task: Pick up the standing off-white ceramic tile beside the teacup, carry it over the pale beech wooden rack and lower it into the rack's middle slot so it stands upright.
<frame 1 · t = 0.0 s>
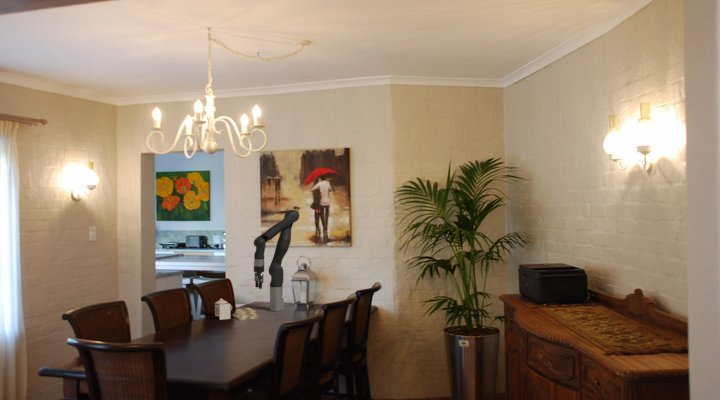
hand: (258, 288, 406), 17 cm above the table, tool pointing down, fingers open, 8 cm apart
tile: (224, 318, 381), on the table
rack: (246, 317, 385), on the table
teacup with lid: (223, 315, 394), on the table
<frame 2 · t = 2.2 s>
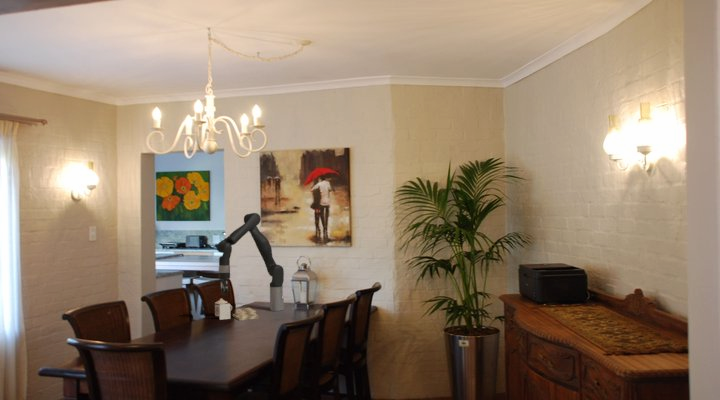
hand: (224, 295, 381), 16 cm above the table, tool pointing down, fingers open, 8 cm apart
nothing on the table moved.
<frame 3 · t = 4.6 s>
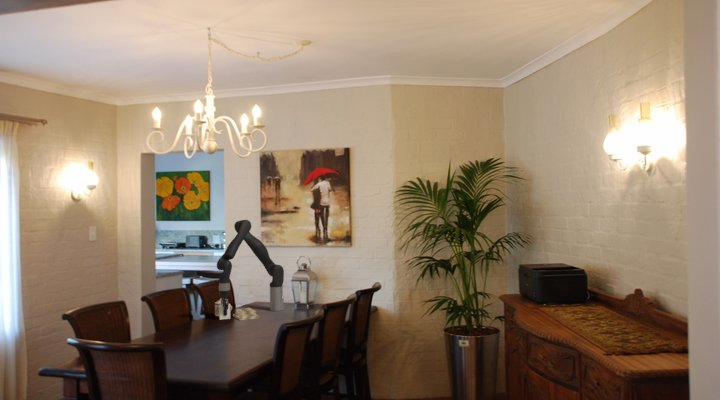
hand: (224, 315, 381), 3 cm above the table, tool pointing down, fingers closed on tile, 2 cm apart
tile: (224, 318, 381), on the table, touching gripper
everything else where it was.
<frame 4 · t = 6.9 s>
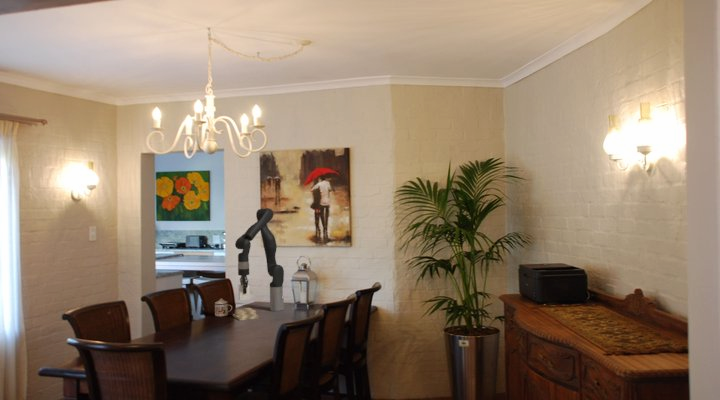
hand: (244, 293, 386), 16 cm above the table, tool pointing down, fingers closed on tile
tile: (244, 299, 386), point 12 cm above the table, touching gripper
everything else where it was.
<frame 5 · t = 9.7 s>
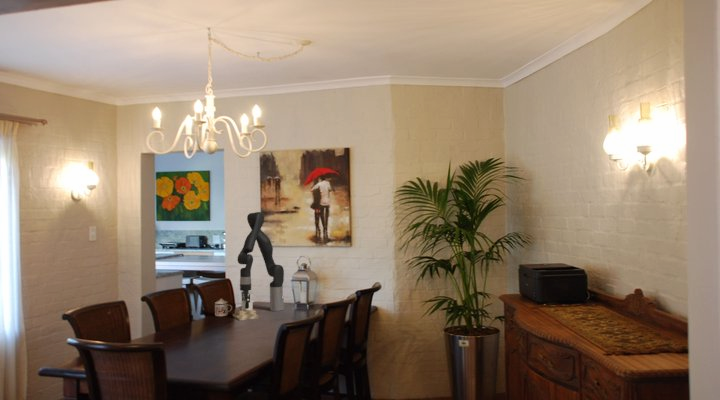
hand: (245, 307, 386), 7 cm above the table, tool pointing down, fingers open, 6 cm apart
tile: (247, 314, 386), point 1 cm above the table, touching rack
everything else where it was.
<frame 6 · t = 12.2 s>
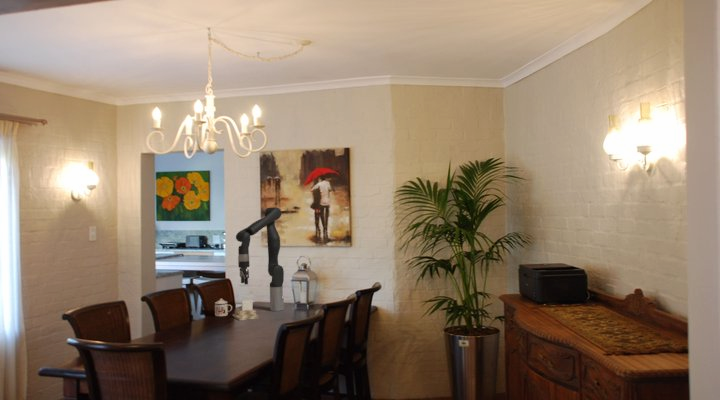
hand: (244, 283, 391), 22 cm above the table, tool pointing down, fingers open, 8 cm apart
nothing on the table moved.
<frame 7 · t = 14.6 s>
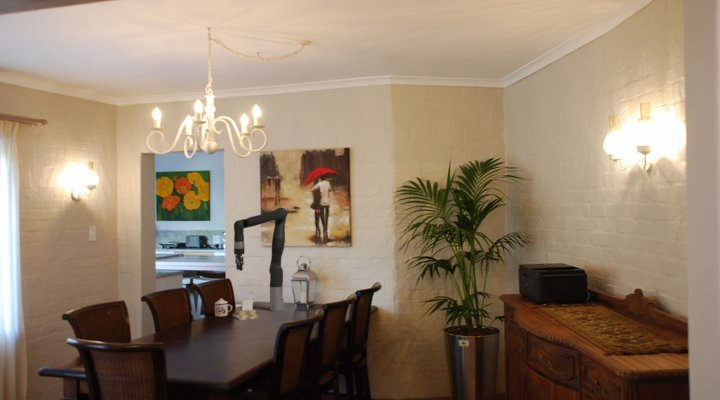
hand: (239, 270, 408), 30 cm above the table, tool pointing down, fingers open, 8 cm apart
nothing on the table moved.
at the end: tile inside the target area on the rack (0.9 cm from its centre), point 1.5 cm above the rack's base; tile tilted 0°; the gripper is holding nothing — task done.
